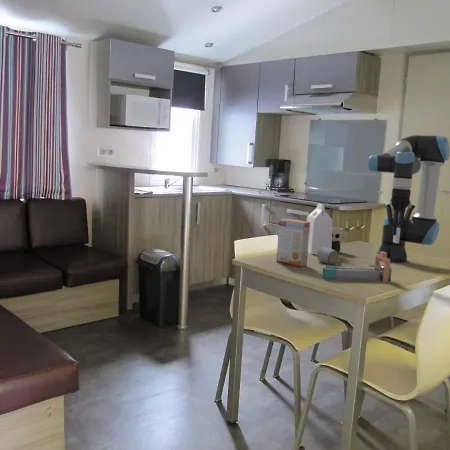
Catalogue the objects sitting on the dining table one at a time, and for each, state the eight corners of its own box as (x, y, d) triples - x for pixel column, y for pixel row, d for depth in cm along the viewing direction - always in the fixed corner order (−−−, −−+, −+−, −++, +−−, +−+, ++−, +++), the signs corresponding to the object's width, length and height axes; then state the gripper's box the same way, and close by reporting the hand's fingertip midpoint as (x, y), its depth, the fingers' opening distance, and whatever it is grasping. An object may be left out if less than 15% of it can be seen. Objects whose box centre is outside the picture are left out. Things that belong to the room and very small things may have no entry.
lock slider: (377, 276, 230) (380, 250, 229) (387, 282, 220) (390, 254, 218) (373, 275, 230) (376, 249, 228) (383, 281, 220) (386, 254, 218)
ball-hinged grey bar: (387, 278, 227) (388, 267, 226) (392, 281, 222) (393, 270, 221) (321, 277, 222) (322, 265, 222) (325, 280, 218) (326, 268, 217)
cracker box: (307, 265, 244) (310, 221, 241) (299, 267, 240) (303, 222, 237) (283, 260, 253) (286, 217, 250) (275, 261, 249) (279, 218, 246)
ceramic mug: (328, 265, 247) (329, 249, 246) (316, 262, 253) (317, 246, 252) (343, 264, 253) (345, 248, 252) (331, 260, 259) (332, 245, 258)
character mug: (322, 251, 283) (324, 227, 281) (326, 249, 289) (328, 226, 287) (342, 254, 278) (344, 230, 276) (346, 252, 284) (348, 228, 282)
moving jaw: (385, 277, 229) (386, 263, 228) (391, 281, 222) (393, 266, 221) (325, 275, 226) (326, 260, 225) (329, 278, 220) (330, 264, 219)
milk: (331, 254, 274) (335, 206, 271) (310, 254, 272) (314, 205, 268) (322, 250, 286) (326, 203, 282) (302, 249, 284) (306, 202, 280)
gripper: (411, 188, 225) (406, 241, 229) (383, 186, 223) (377, 240, 227) (420, 189, 218) (414, 244, 221) (391, 188, 216) (385, 243, 220)
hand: (395, 242), depth 224 cm, fingers closed
